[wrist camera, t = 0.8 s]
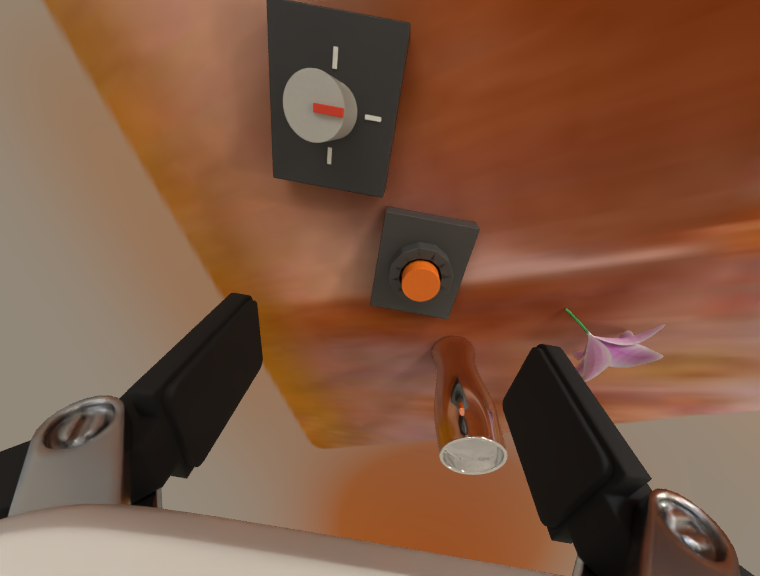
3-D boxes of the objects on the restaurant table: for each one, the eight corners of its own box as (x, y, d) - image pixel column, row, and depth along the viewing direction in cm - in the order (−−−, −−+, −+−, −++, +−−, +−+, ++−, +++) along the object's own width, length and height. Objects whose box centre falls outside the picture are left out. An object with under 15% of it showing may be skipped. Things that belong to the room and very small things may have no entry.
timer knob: (306, 134, 25) (281, 137, 20) (307, 74, 23) (279, 61, 18) (354, 143, 25) (341, 148, 20) (360, 84, 23) (346, 73, 18)
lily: (520, 351, 41) (571, 416, 35) (531, 309, 32) (603, 387, 26) (593, 316, 41) (657, 373, 35) (625, 264, 32) (719, 330, 26)
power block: (387, 206, 31) (384, 216, 28) (475, 222, 31) (484, 234, 28) (371, 296, 37) (368, 313, 34) (445, 309, 37) (449, 328, 34)
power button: (406, 256, 30) (405, 265, 28) (442, 263, 30) (444, 272, 28) (398, 288, 32) (398, 297, 30) (433, 294, 32) (434, 304, 30)
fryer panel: (281, 9, 23) (265, -6, 21) (410, 33, 24) (410, 22, 21) (284, 173, 30) (272, 177, 27) (384, 191, 30) (382, 198, 27)
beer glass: (427, 368, 43) (435, 473, 30) (429, 332, 39) (439, 434, 26) (474, 369, 42) (503, 478, 29) (480, 333, 39) (516, 438, 26)
